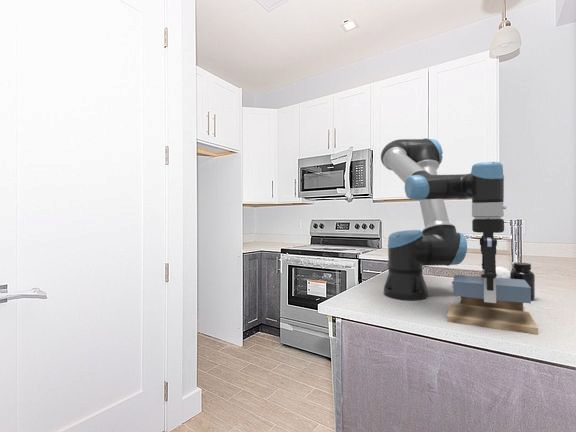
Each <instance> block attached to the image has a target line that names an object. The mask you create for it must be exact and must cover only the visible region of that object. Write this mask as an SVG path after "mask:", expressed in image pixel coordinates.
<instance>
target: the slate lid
mask: <svg viewBox="0 0 576 432" xmlns="http://www.w3.org/2000/svg"><path fill="white" fill-rule="evenodd" d="M452 281H453V284H452V296H453V297H460V298H461V297H471V298H481V299H484V278H481V276H475V275H464V274H462V275H461V274H454V275H453V280H452ZM496 300H501V301H511V302H521V303H523V304H532V300H531V287H530V286H529V285H528V284H527V282H526V281H525V280H521V279H506V278H496Z"/></svg>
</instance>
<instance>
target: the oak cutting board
mask: <svg viewBox="0 0 576 432" xmlns="http://www.w3.org/2000/svg"><path fill="white" fill-rule="evenodd" d="M446 318H447V322H449V323H455V324H462V325H469V326H476V327H483V328H489V329H499V330H503V331H504V330H505V331H512V332H518V333H527V334H535V335H539V327H538V326H537V324H536V322H535V320H534V319H533V317H532V315H531V313H530V312H529V311H524V310H523V311H516V310H508V309H499V308H490V307H481V306H472V305H464V304H461V303H454V302H449V306H448V312H447V317H446Z"/></svg>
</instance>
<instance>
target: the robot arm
mask: <svg viewBox="0 0 576 432" xmlns="http://www.w3.org/2000/svg"><path fill="white" fill-rule="evenodd" d="M443 153H444V152H443V149H442V144H440V142H439V141H438V140H437V139H435V138H421V139H420V138H417V139H416V138H408V139H406V138H405V139H404V138H400V139H396V140H392V141H391V142H390V141H389V143H387V144H385V146H384V147H383V149H382V151H381V154H380V161H381V163H382V165H383V166H384V167H385V169H387V170H388V171H393V172H394V174H395V175H396V176H397V177H398V178H399V179H400V180H401V181H402V182H403V183H404V191H405V196H406V198H407V199H410V200H417V201H419V205H420V210H421V215H422V220H423V224H424V228H423V229H422V230H420V229H410V230H400V231H396V232H392V233H390V234H389V235H388V240H387V248H388V249H387V254H388V274H387V277H386V280H385V283H384V286H383V294H384V296H386V297H389V298H393V299H397V300H406V301H407V300H408V301H417V300H424V299H426V298H428V297H429V289H428V287H427V284H426V282H425V278H424V275H423V267H424V266H447V267H449V266H456V265H460V264H461V263H462V262H463V261H464V260H465V258H466V255H467V253H468V252H467V251H468V241H467V238H466V236H465V234H463V233H462V232H457V229H456V226H455V225H454V224H452V223H450V219H449V216H448V211H447V208H446V203H445V200H447V199H449V200H468V199H471V217H472V220H471V224H472V225H471V226H472V229H471V230H472V232H473V233H482V235H481V238H479V246H480V253H481V255H482V256H481V269H482V270H481V274H480V277H481V278H484V302H490V303H496V278H495V277H496V276H497V274H496V267H497V265H496V263H497V262H496V255H497V244H498V239H497V238H495V237H494V234H496V233H497V234H498V233H499V234H500V233H503V232H504V231H505V220H504V219H503V217H504V214H505V213H504V210H507V205H504V200H505V199H504V198H505V197H504V196H505V194H504V193H505V191H504V188H505V187H504V186H505V184H504V183H505V180H504V179H505V174H504V165H503V164H502V163H501V162H500V161H485V162H477V163H474V164H473V165H472V166H471V170H470V173H466V174H465V173H464V174H462V173H461V174H438V171H437V170H438V169H439V168H440V165H441V163H442V161H443V157H444V156H443Z"/></svg>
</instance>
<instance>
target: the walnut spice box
mask: <svg viewBox="0 0 576 432" xmlns="http://www.w3.org/2000/svg"><path fill="white" fill-rule="evenodd" d="M460 304H464V305H472V306H481V307H490V308H499V309H508V310H516V311H524V303H521V302H511V301H501V300H496V303H490V302H484V299H481V298H471V297H461V296H460Z"/></svg>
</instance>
